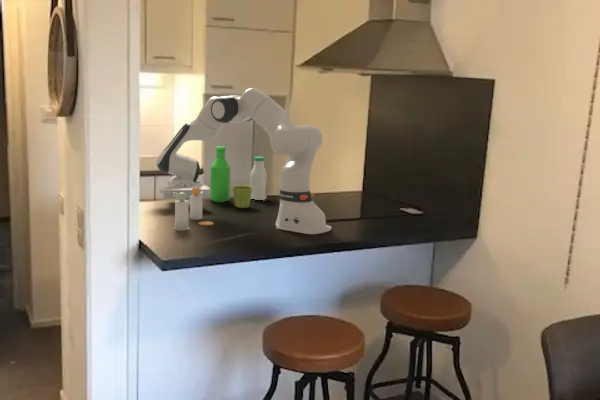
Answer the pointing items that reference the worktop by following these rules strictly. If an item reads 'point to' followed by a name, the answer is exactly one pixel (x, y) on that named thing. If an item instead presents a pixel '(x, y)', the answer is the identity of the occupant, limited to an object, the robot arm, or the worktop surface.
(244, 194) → the plant pot
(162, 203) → the worktop surface
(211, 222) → the card
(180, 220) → the green ball tube
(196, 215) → the orange ball tube
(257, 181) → the milk bottle
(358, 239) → the worktop surface
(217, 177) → the bottle
